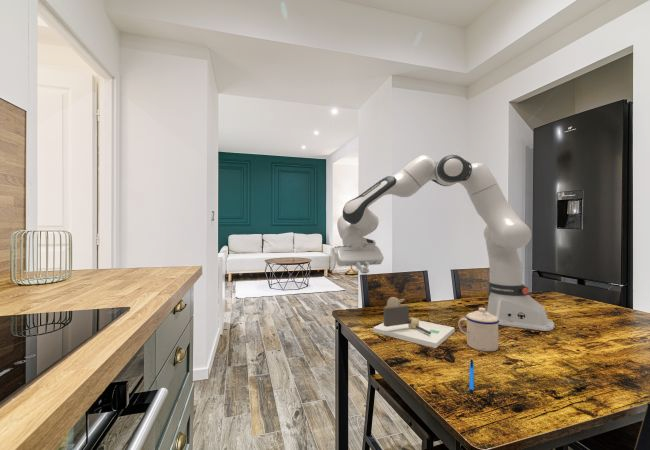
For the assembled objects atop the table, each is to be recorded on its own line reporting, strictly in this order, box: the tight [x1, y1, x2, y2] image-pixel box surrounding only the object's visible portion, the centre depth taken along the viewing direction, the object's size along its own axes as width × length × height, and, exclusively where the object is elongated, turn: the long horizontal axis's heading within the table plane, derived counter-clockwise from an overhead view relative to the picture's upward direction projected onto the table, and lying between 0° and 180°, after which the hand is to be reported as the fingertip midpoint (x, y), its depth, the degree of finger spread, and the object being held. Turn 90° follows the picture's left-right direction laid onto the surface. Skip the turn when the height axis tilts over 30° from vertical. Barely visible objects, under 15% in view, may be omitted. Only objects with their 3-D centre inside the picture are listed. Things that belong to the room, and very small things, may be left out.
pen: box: [468, 359, 475, 396], centre depth 76 cm, size 1×19×1 cm, turn 155°
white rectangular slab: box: [372, 319, 456, 349], centre depth 107 cm, size 22×18×2 cm
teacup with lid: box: [458, 307, 499, 352], centre depth 96 cm, size 12×9×12 cm
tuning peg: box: [383, 304, 431, 334], centre depth 102 cm, size 13×10×8 cm
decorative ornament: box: [385, 296, 406, 307], centre depth 136 cm, size 4×8×5 cm, turn 44°
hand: (365, 272), depth 121 cm, fingers closed
